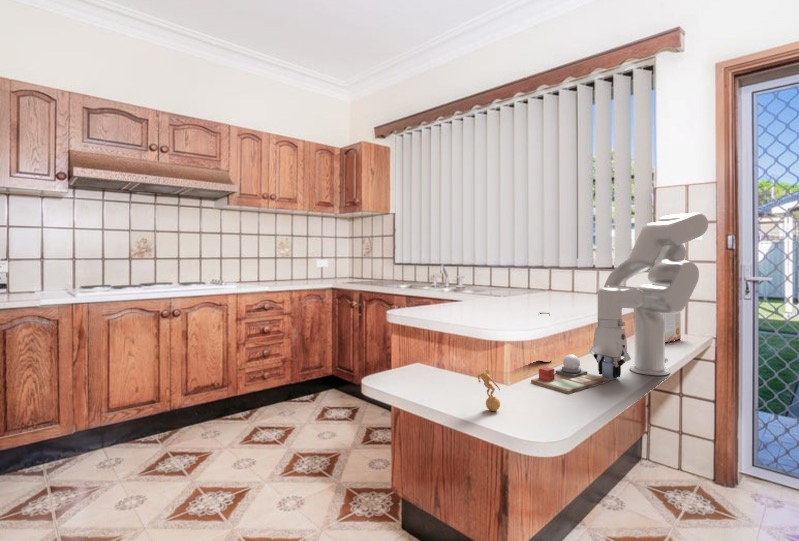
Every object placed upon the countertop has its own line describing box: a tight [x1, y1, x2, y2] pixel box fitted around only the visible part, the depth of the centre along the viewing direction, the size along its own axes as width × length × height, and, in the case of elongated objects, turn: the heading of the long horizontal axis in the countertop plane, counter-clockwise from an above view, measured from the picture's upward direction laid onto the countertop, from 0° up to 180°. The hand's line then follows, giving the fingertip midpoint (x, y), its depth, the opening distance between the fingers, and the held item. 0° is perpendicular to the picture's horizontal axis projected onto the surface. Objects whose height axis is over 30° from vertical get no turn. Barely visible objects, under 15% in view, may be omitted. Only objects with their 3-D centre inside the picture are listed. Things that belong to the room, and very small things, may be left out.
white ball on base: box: [561, 354, 582, 373], centre depth 152 cm, size 6×6×6 cm
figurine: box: [477, 369, 501, 412], centre depth 121 cm, size 8×6×12 cm
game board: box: [530, 366, 609, 395], centre depth 146 cm, size 22×14×5 cm, turn 124°
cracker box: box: [660, 311, 682, 343], centre depth 207 cm, size 14×6×21 cm, turn 119°
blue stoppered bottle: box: [601, 356, 618, 381], centre depth 150 cm, size 5×5×8 cm
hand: (609, 375), depth 150 cm, fingers closed on blue stoppered bottle, 4 cm apart
